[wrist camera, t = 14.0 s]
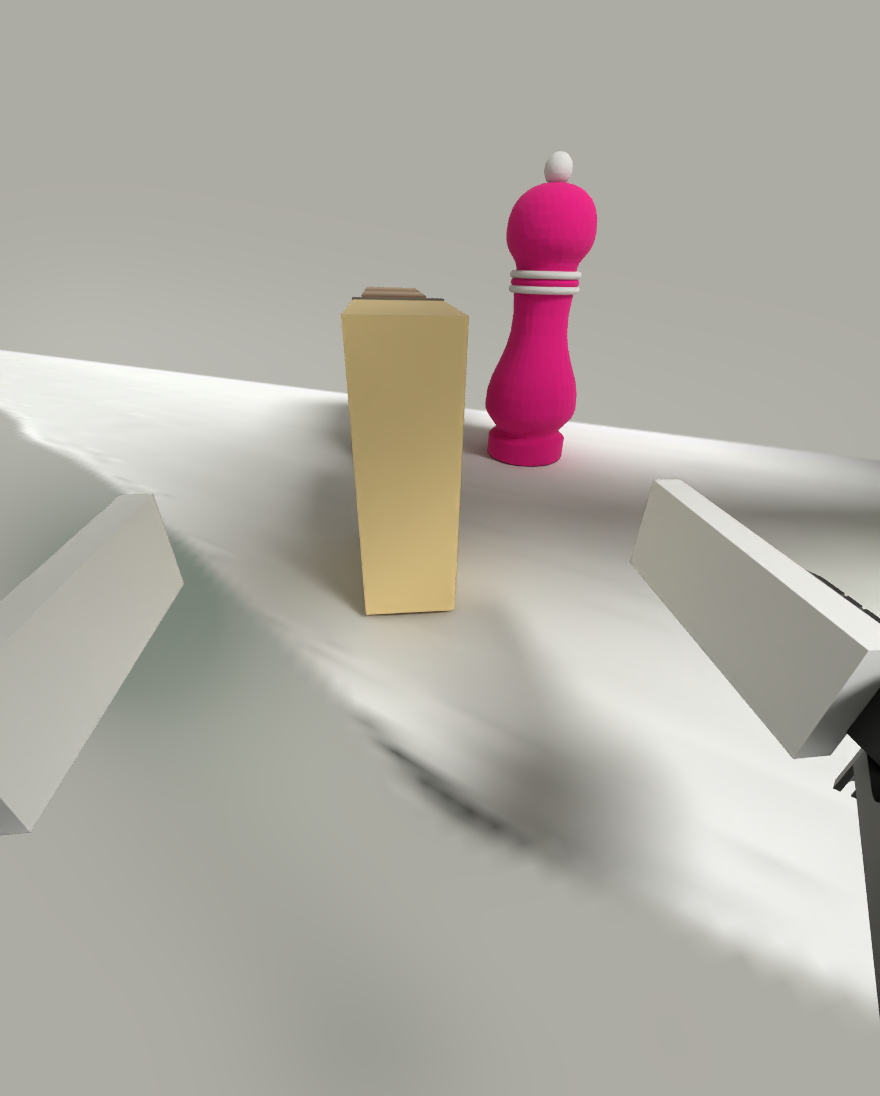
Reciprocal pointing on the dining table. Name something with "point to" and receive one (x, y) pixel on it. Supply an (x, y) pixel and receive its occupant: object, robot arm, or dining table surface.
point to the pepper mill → (540, 319)
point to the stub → (406, 446)
